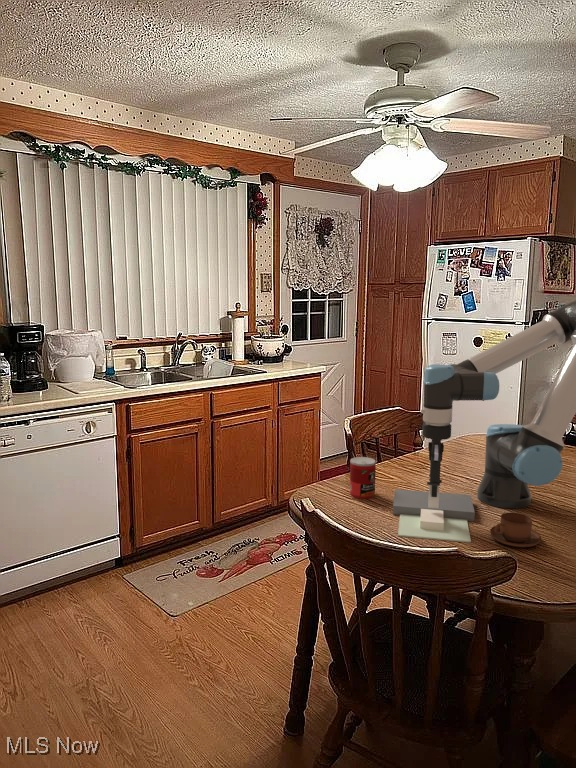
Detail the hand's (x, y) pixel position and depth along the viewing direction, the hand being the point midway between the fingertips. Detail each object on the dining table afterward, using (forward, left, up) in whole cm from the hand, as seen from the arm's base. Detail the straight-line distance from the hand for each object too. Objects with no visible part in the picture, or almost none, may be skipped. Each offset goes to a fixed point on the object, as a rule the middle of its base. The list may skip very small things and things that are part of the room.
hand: (433, 506), depth 158 cm
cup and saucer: (-20, +9, -4) cm, 22 cm away
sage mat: (0, +6, -4) cm, 7 cm away
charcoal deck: (0, -9, -4) cm, 10 cm away
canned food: (+21, -16, -4) cm, 27 cm away
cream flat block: (0, +3, -4) cm, 5 cm away
